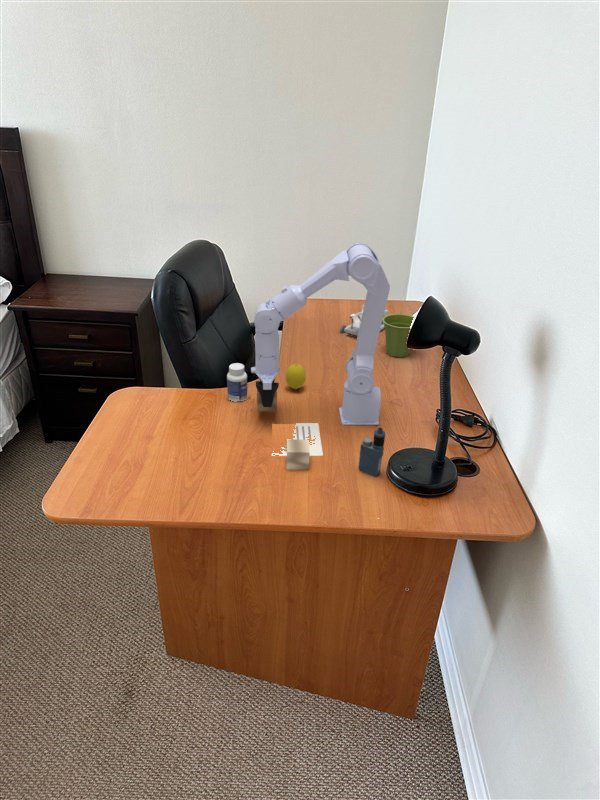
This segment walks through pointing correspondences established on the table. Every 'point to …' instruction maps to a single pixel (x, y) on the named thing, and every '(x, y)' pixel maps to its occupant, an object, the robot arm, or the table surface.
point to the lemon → (295, 376)
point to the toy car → (358, 323)
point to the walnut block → (261, 408)
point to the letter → (302, 434)
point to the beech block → (298, 454)
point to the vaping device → (372, 453)
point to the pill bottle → (237, 382)
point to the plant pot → (397, 334)
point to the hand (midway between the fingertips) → (267, 400)
